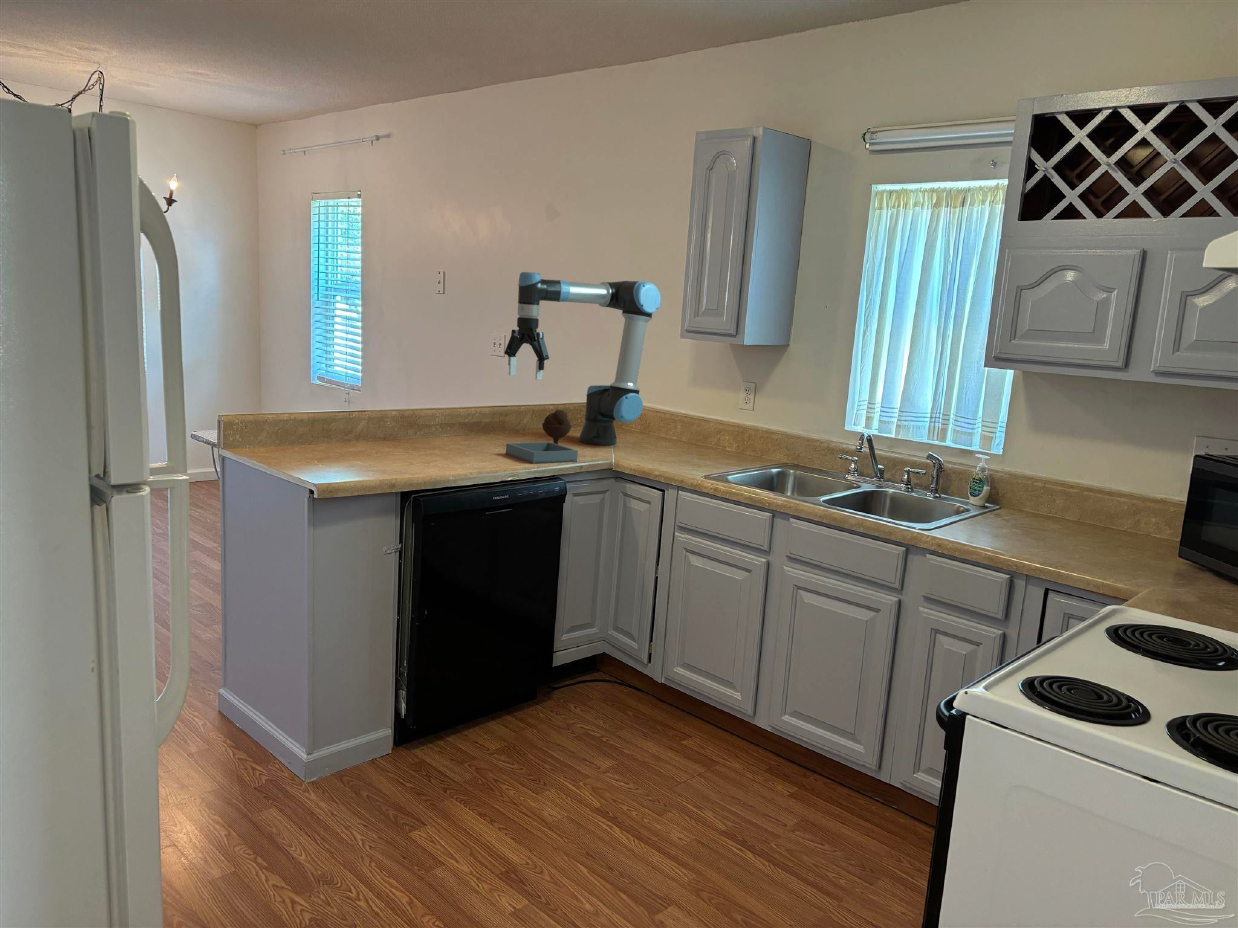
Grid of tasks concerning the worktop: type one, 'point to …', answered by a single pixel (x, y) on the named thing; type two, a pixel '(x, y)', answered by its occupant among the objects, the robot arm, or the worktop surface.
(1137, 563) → the worktop surface
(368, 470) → the worktop surface
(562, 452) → the charcoal bin
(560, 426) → the ice cream bowl
